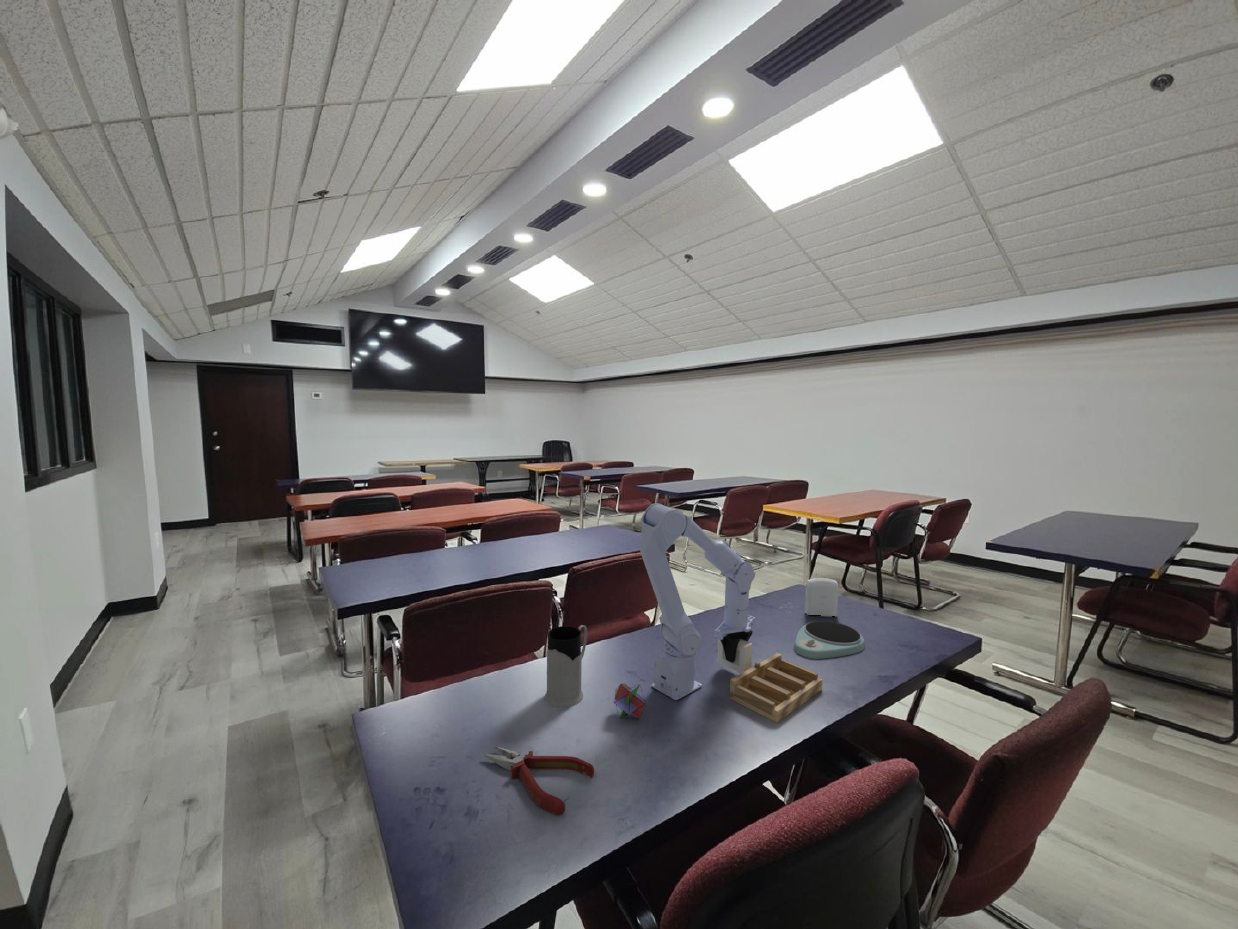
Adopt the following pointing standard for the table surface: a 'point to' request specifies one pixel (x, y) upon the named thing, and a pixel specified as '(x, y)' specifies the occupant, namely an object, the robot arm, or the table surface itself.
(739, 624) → the robot arm
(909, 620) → the table surface
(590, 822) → the table surface
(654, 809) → the table surface
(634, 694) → the geometric puzzle
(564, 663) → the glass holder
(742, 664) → the white rectangular box
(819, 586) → the photo printer
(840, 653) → the electric hot plate
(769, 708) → the wooden compartment tray
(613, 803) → the table surface
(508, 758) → the pliers
